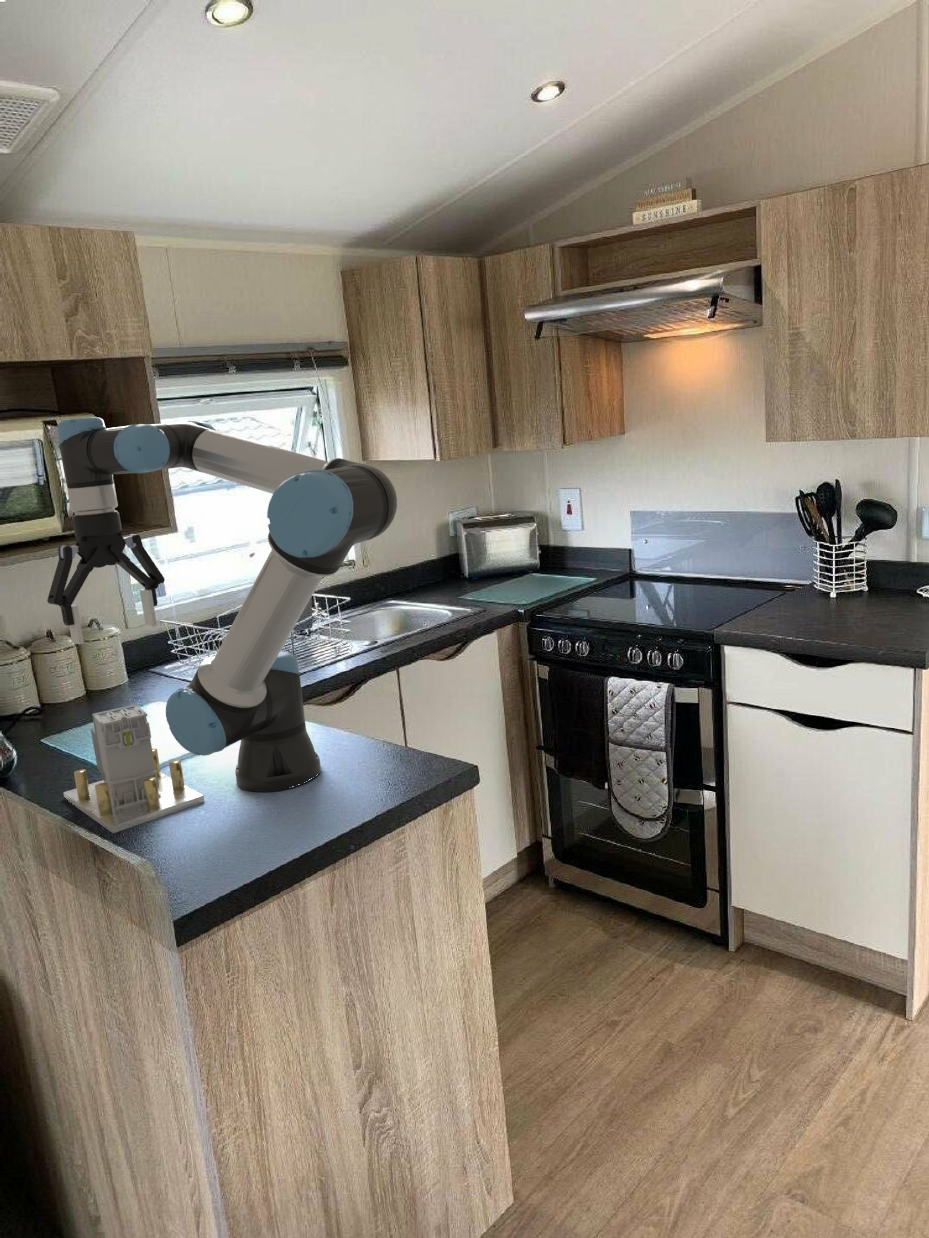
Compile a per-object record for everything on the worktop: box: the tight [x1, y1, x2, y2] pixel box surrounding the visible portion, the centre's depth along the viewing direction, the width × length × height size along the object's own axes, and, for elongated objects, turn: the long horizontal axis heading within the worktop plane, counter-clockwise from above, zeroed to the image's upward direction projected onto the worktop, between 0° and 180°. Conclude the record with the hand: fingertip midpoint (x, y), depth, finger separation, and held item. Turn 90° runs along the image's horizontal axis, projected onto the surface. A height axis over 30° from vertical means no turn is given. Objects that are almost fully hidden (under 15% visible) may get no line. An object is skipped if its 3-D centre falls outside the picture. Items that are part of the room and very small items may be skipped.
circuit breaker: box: [90, 703, 161, 809], centre depth 169 cm, size 8×14×15 cm, turn 32°
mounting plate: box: [62, 748, 205, 834], centre depth 169 cm, size 23×16×6 cm
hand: (115, 634), depth 167 cm, fingers open, 13 cm apart
